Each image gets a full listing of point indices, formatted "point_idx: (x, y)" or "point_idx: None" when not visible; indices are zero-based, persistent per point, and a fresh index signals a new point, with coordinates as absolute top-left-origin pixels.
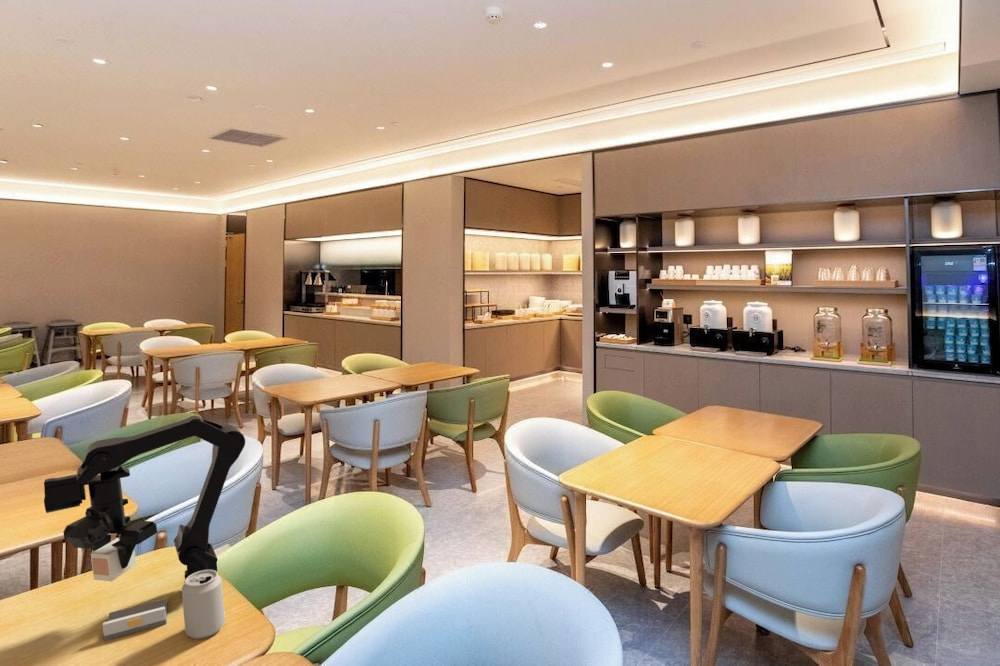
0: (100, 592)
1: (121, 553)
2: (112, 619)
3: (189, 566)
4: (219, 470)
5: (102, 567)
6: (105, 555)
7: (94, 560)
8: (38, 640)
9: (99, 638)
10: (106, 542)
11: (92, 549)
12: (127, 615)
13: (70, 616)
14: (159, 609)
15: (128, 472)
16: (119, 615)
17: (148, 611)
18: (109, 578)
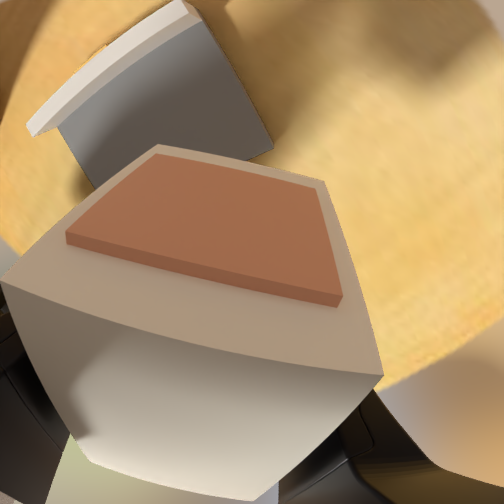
0: (386, 289)
1: (3, 325)
2: (230, 103)
3: (2, 293)
4: None
5: (185, 191)
6: (51, 289)
7: (297, 267)
8: (447, 47)
9: (227, 21)
10: (292, 492)
11: (400, 433)
12: (187, 129)
13: (421, 170)
14: (36, 118)
15: None
16: (219, 129)
17: (59, 101)
18: (164, 152)
